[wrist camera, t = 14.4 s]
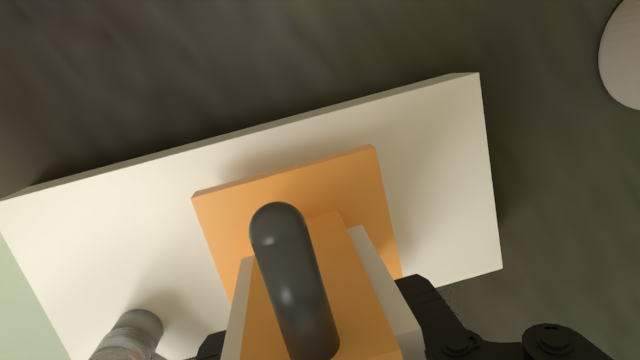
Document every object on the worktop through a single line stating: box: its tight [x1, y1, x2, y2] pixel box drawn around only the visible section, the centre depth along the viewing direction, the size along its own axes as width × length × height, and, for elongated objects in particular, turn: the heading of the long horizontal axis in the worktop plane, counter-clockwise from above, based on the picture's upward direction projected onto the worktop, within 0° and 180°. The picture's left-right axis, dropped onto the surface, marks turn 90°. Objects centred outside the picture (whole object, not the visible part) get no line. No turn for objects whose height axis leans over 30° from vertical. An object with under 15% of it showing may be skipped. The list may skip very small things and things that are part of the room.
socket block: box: [0, 72, 503, 360], centre depth 20 cm, size 24×11×4 cm, turn 103°
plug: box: [190, 144, 403, 360], centre depth 14 cm, size 8×9×13 cm
